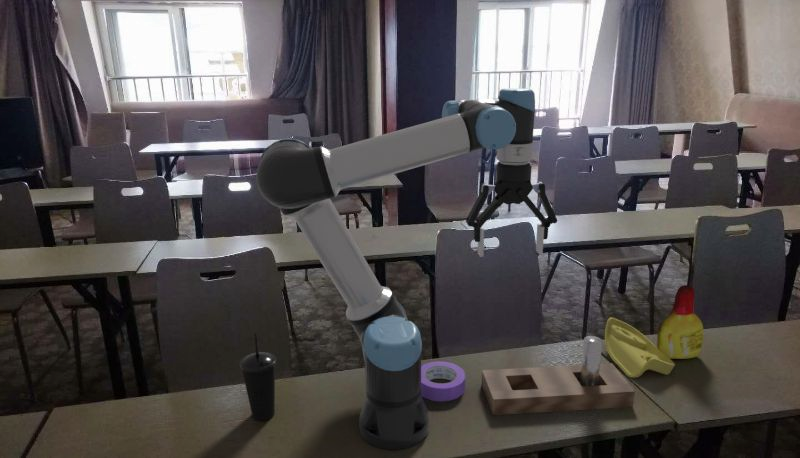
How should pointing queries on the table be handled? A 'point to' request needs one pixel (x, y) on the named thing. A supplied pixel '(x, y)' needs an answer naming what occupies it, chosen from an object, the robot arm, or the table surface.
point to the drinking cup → (260, 382)
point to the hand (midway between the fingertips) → (509, 253)
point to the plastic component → (634, 350)
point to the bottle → (681, 328)
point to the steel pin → (591, 361)
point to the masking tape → (446, 389)
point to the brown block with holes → (554, 390)
